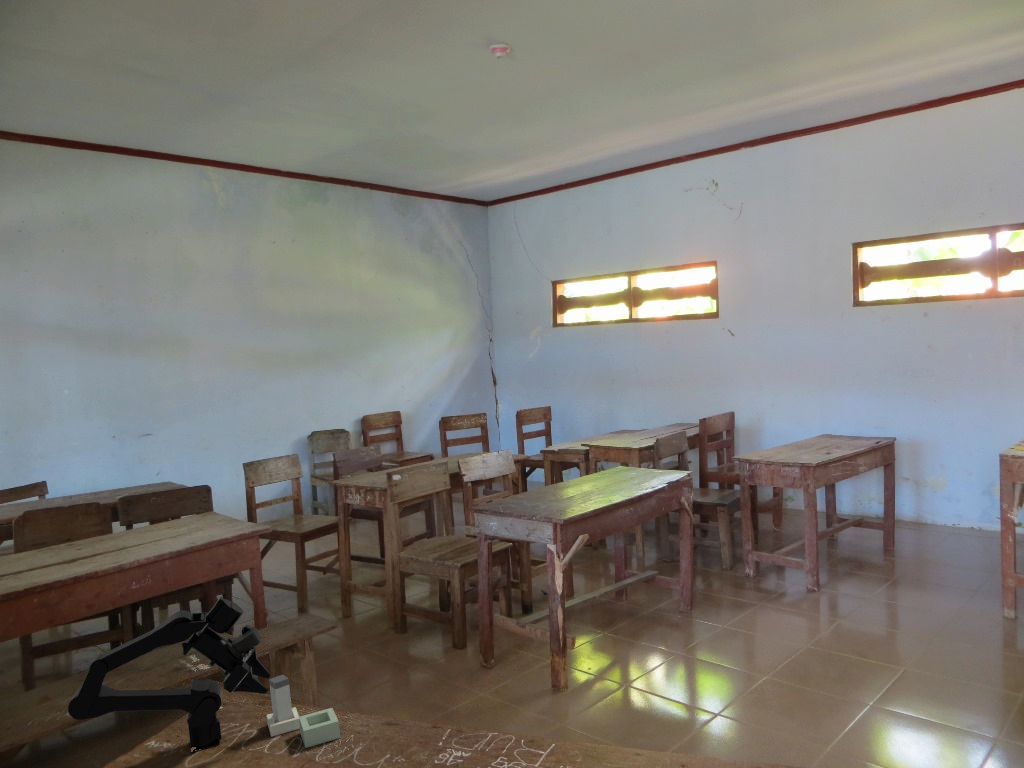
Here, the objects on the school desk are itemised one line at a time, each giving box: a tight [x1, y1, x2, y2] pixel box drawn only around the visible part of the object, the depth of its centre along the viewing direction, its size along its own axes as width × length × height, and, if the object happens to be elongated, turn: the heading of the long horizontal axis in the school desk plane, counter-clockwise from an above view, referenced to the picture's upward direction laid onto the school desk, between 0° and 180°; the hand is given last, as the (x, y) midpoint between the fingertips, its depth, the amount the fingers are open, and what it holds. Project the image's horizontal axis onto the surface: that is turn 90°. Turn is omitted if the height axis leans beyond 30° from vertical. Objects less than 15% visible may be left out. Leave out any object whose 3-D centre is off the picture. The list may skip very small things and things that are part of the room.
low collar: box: [266, 706, 300, 738], centre depth 182 cm, size 7×7×2 cm
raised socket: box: [299, 707, 341, 749], centre depth 176 cm, size 8×8×4 cm
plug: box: [268, 674, 293, 723], centre depth 182 cm, size 4×4×12 cm
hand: (268, 684), depth 181 cm, fingers open, 9 cm apart
